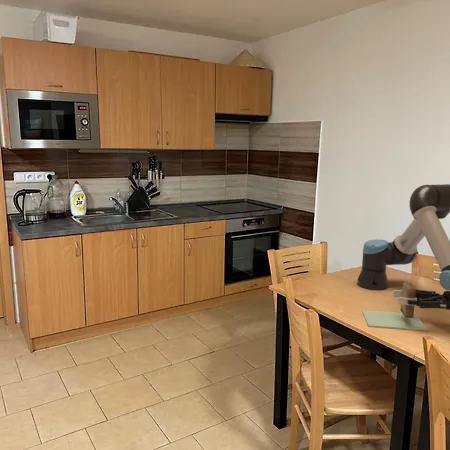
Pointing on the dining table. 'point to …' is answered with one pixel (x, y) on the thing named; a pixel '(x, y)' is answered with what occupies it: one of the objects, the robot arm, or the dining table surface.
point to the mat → (392, 320)
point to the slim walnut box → (408, 292)
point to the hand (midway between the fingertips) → (395, 297)
